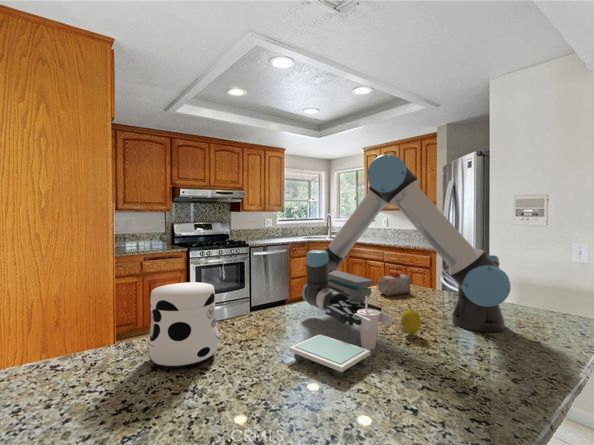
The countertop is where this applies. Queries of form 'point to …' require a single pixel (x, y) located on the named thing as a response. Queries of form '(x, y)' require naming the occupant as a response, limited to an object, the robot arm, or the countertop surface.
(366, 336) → the smoothie
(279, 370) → the countertop surface
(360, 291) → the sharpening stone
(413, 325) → the lemon
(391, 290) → the grey boxy piece
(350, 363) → the tray
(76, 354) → the countertop surface
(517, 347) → the countertop surface
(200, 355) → the milk container
